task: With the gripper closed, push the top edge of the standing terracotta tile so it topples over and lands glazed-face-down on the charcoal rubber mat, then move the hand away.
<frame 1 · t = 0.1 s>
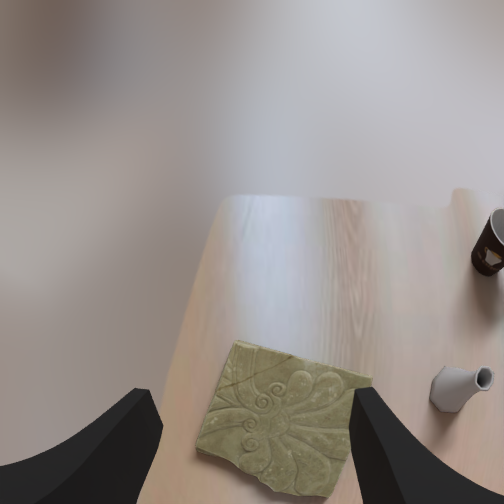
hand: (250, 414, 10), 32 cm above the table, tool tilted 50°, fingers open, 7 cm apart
flask: (449, 390, 34), on the table
decorative tile: (282, 423, 37), on the table
coffee mug: (488, 267, 43), on the table
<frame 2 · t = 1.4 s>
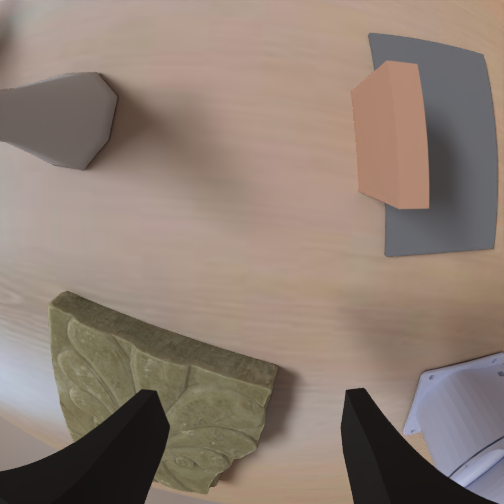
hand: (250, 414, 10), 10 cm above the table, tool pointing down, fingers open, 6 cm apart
flask: (77, 119, 17), on the table
decorative tile: (155, 407, 25), on the table
tile: (366, 141, 16), on the table
mat: (445, 144, 16), on the table
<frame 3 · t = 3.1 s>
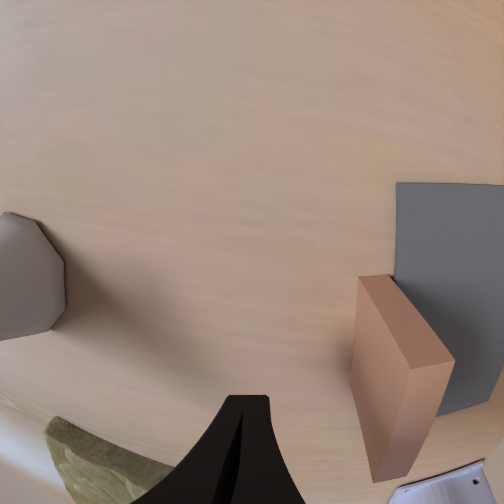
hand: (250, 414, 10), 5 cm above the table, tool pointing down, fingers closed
flask: (28, 270, 15), on the table
decorative tile: (152, 496, 22), on the table
tile: (368, 333, 14), on the table
mat: (462, 320, 13), on the table
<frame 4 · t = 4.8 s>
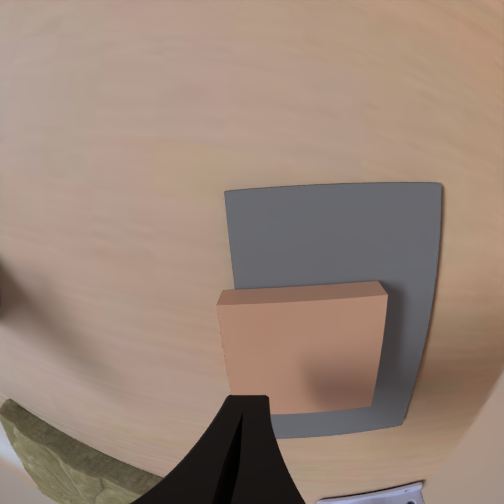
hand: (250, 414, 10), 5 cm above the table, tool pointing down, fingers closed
decorative tile: (96, 481, 23), on the table
tile: (229, 358, 13), point 1 cm above the table, tilted 90°, touching mat
mat: (338, 337, 14), on the table
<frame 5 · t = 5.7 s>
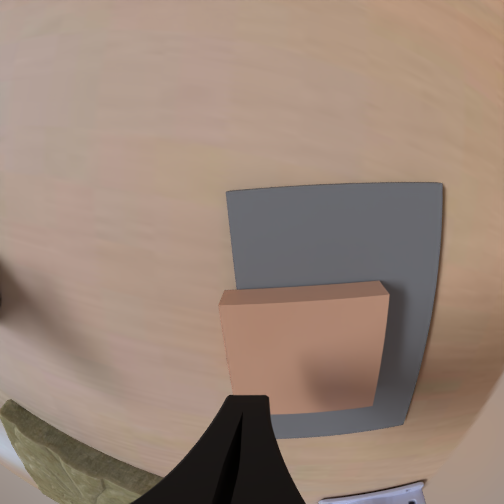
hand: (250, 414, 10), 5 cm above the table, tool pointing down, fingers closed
decorative tile: (98, 481, 23), on the table
tile: (230, 358, 13), point 1 cm above the table, tilted 90°, touching mat
mat: (340, 337, 14), on the table
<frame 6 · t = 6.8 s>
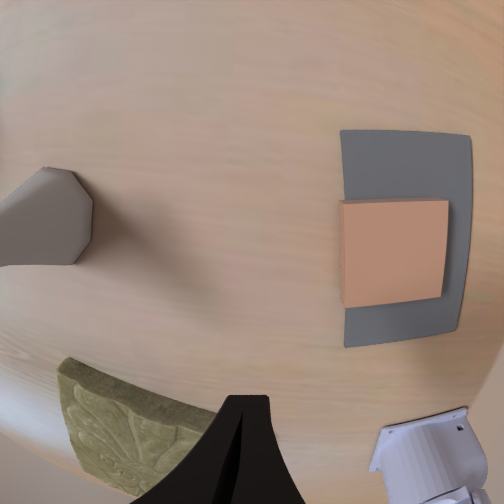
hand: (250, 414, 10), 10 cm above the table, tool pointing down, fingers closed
flask: (59, 214, 19), on the table
decorative tile: (152, 445, 27), on the table
tile: (342, 255, 17), point 1 cm above the table, tilted 90°, touching mat
mat: (412, 243, 18), on the table
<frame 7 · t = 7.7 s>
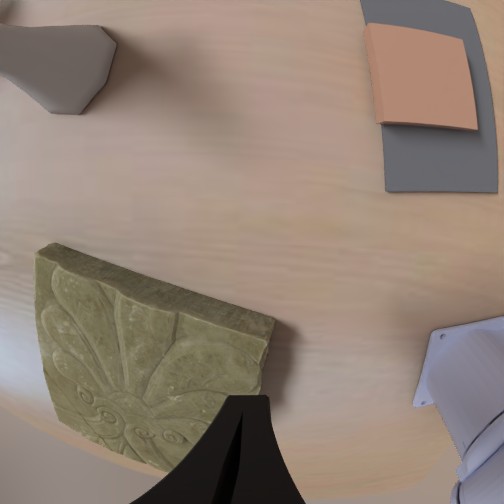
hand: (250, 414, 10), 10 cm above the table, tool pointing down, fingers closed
flask: (76, 69, 16), on the table
decorative tile: (143, 375, 24), on the table
tile: (374, 72, 14), point 1 cm above the table, tilted 90°, touching mat
mat: (438, 84, 14), on the table
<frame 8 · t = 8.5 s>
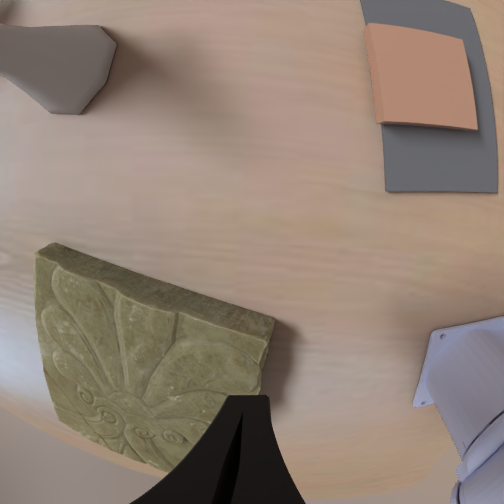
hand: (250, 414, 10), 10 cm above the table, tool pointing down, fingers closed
flask: (76, 69, 16), on the table
decorative tile: (143, 375, 24), on the table
tile: (374, 72, 14), point 1 cm above the table, tilted 90°, touching mat
mat: (438, 84, 14), on the table
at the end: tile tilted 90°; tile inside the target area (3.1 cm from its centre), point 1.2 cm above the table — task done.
